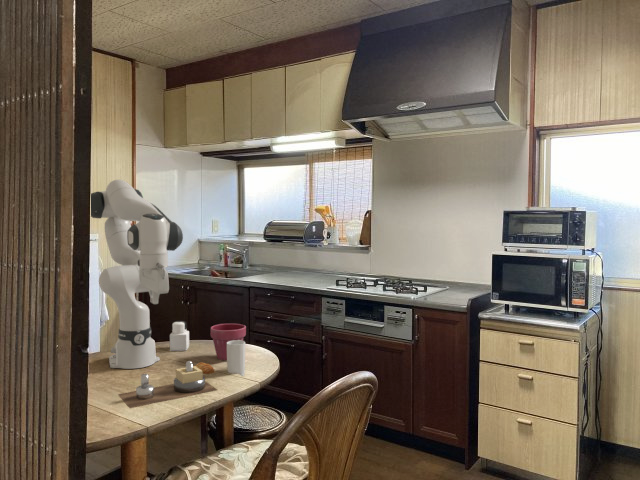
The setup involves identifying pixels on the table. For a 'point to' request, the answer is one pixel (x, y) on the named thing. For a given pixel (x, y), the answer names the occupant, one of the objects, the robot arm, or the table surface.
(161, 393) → the base board
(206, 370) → the pastry
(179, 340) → the medicine bottle
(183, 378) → the collar
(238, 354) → the mug
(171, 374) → the table surface
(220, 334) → the plant pot
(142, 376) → the silver knob
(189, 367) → the hub
